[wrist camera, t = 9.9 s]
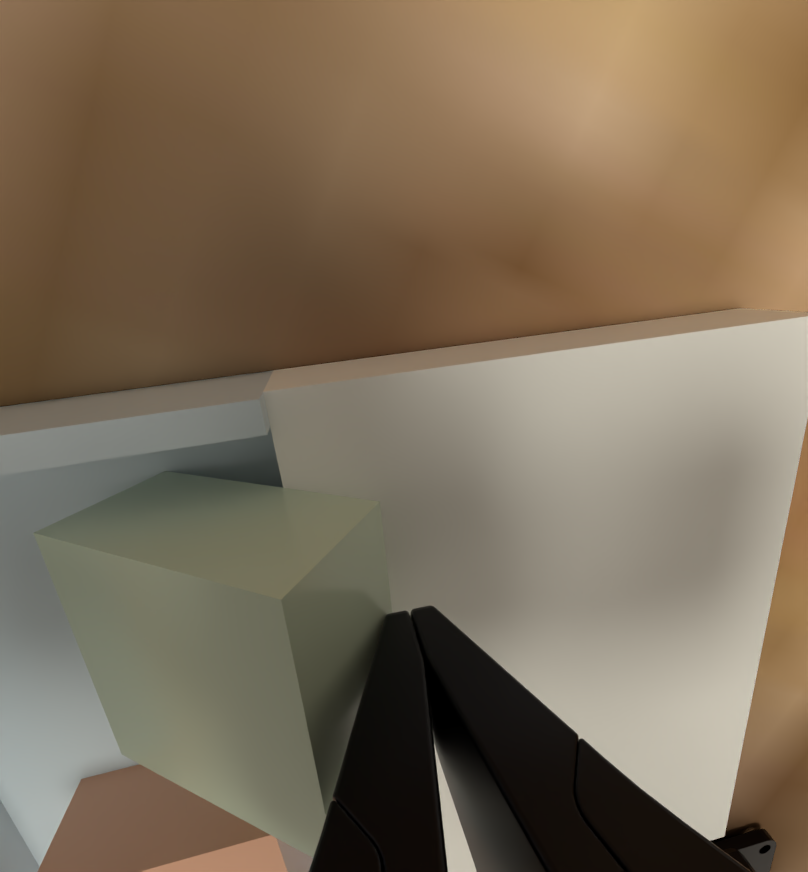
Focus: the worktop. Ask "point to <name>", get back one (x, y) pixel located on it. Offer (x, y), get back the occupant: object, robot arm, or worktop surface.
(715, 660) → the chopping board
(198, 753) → the sage tile
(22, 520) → the tray
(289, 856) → the terracotta tile
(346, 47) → the worktop surface
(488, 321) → the worktop surface
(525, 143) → the worktop surface
